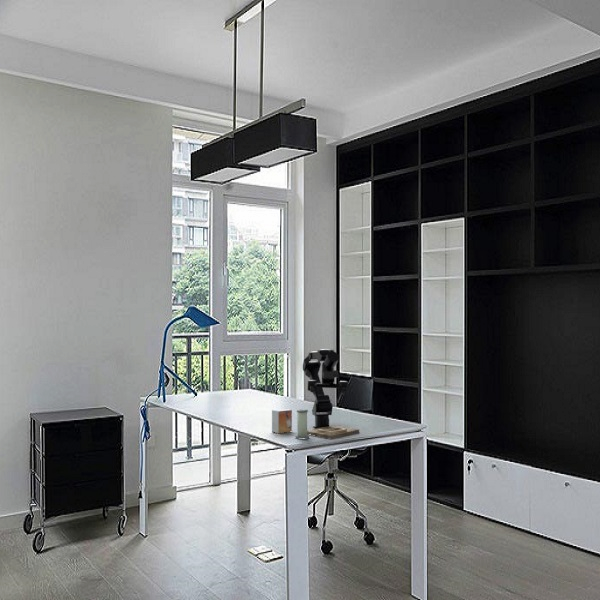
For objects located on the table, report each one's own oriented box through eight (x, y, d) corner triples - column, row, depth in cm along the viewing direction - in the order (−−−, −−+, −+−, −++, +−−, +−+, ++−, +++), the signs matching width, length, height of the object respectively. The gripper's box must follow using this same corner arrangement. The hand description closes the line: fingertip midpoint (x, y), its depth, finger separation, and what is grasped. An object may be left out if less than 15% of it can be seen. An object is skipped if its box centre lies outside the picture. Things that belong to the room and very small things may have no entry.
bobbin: (292, 438, 306) (292, 410, 306) (302, 436, 310) (302, 408, 310) (302, 440, 301) (302, 411, 301) (312, 437, 305) (312, 410, 305)
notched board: (305, 434, 314) (304, 428, 314) (334, 428, 328) (334, 423, 328) (329, 439, 303) (329, 433, 303) (359, 432, 317) (359, 427, 317)
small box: (278, 434, 315) (278, 411, 315) (271, 432, 320) (271, 409, 320) (292, 432, 320) (292, 409, 320) (285, 430, 324) (285, 408, 324)
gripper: (308, 363, 312) (307, 392, 303) (348, 364, 312) (349, 394, 303) (307, 375, 321) (307, 404, 312) (347, 376, 321) (347, 406, 312)
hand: (327, 402), depth 309 cm, fingers open, 9 cm apart
